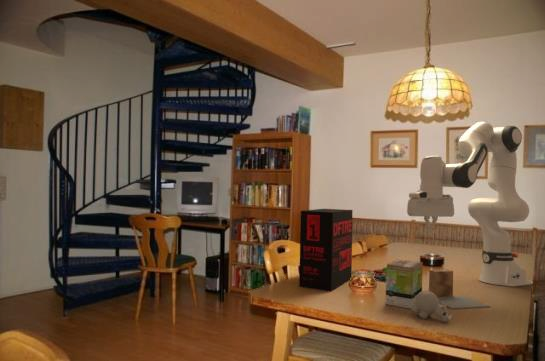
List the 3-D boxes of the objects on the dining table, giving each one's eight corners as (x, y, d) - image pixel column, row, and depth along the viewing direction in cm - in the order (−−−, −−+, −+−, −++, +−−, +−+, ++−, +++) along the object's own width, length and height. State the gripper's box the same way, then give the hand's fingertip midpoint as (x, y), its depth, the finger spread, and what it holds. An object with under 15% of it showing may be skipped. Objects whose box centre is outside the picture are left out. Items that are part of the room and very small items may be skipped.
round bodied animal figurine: (440, 333, 125) (450, 310, 123) (406, 310, 133) (416, 288, 131) (449, 327, 130) (460, 305, 128) (416, 306, 138) (426, 284, 136)
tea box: (413, 309, 141) (413, 267, 141) (384, 304, 146) (385, 263, 146) (422, 300, 154) (423, 261, 154) (395, 295, 159) (396, 258, 159)
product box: (331, 291, 163) (332, 212, 164) (299, 286, 170) (300, 210, 171) (351, 279, 187) (352, 210, 187) (322, 275, 193) (323, 208, 194)
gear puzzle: (388, 269, 213) (389, 261, 214) (419, 274, 203) (419, 266, 203) (359, 278, 190) (359, 270, 190) (391, 284, 179) (392, 275, 180)
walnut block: (446, 294, 163) (446, 269, 163) (452, 296, 159) (453, 271, 160) (428, 294, 161) (429, 269, 162) (435, 297, 158) (435, 271, 158)
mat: (463, 296, 159) (463, 295, 159) (490, 307, 146) (490, 305, 146) (427, 298, 156) (427, 297, 156) (451, 309, 142) (451, 308, 142)
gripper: (447, 194, 174) (447, 226, 173) (405, 193, 169) (404, 226, 168) (457, 194, 167) (457, 228, 167) (414, 193, 163) (413, 228, 162)
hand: (430, 227), depth 168 cm, fingers closed
